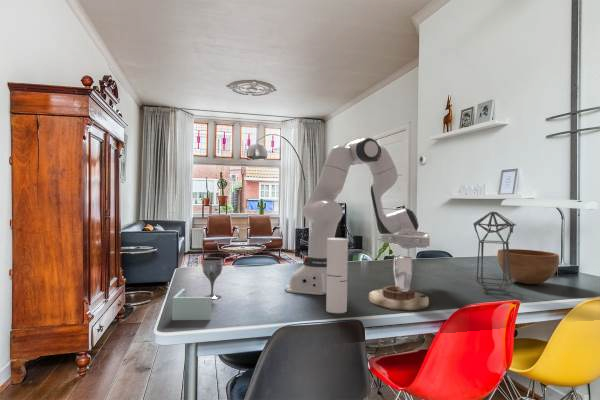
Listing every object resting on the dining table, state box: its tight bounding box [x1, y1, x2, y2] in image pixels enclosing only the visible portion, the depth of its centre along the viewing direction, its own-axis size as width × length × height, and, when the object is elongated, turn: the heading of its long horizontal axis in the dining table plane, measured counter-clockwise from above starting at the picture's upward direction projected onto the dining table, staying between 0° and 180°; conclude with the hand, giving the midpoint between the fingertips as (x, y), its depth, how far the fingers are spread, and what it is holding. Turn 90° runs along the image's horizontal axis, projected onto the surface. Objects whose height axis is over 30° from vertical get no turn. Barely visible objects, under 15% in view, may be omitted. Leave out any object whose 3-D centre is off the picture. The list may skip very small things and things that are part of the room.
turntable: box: [368, 285, 430, 311], centre depth 136 cm, size 22×22×4 cm
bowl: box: [496, 248, 560, 285], centre depth 170 cm, size 25×25×15 cm
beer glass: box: [392, 255, 413, 293], centre depth 135 cm, size 7×7×15 cm
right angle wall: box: [171, 288, 213, 321], centre depth 117 cm, size 12×12×8 cm
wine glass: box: [201, 256, 224, 301], centre depth 138 cm, size 8×8×15 cm
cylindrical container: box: [325, 237, 349, 314], centre depth 123 cm, size 7×7×25 cm
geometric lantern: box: [472, 211, 517, 296], centre depth 154 cm, size 16×16×35 cm
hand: (402, 240), depth 147 cm, fingers open, 8 cm apart
